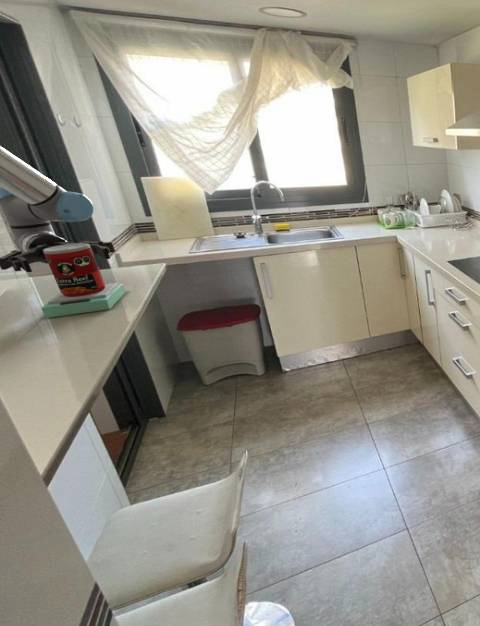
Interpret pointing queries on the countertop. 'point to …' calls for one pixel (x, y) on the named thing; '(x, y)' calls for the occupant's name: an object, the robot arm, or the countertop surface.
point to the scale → (84, 302)
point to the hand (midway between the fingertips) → (68, 259)
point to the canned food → (75, 269)
